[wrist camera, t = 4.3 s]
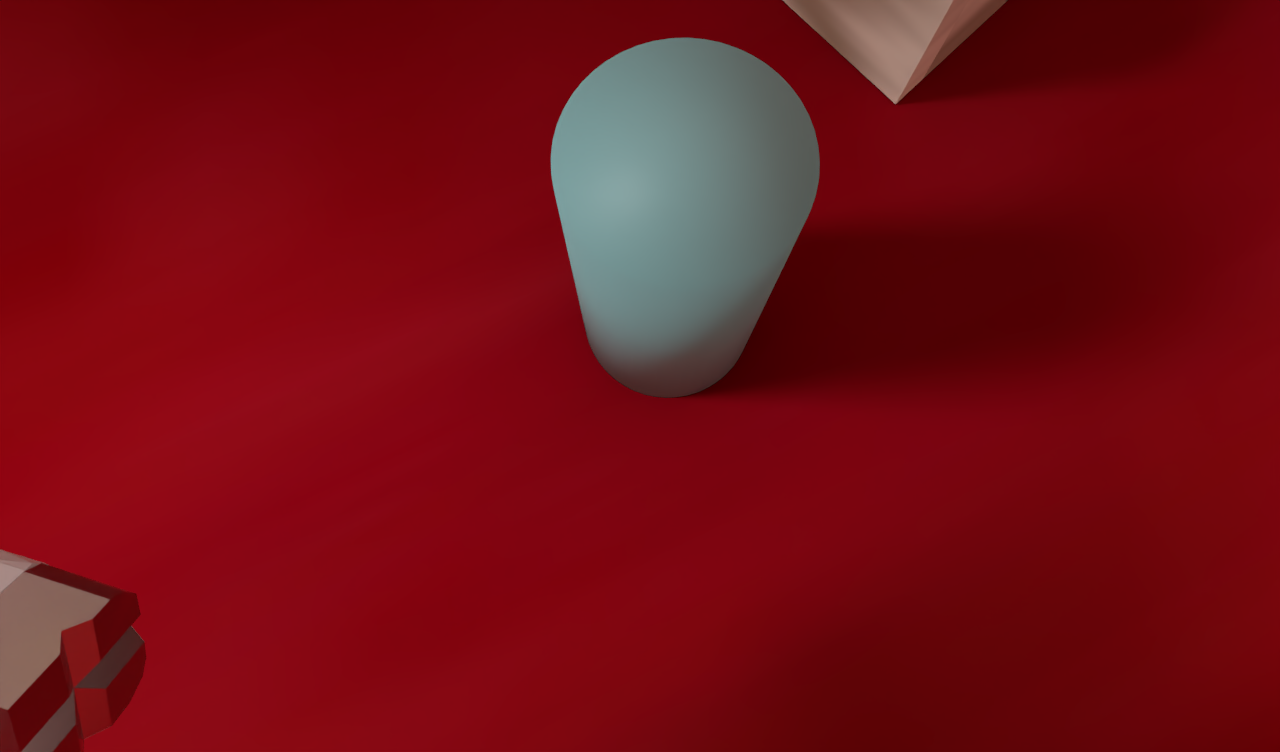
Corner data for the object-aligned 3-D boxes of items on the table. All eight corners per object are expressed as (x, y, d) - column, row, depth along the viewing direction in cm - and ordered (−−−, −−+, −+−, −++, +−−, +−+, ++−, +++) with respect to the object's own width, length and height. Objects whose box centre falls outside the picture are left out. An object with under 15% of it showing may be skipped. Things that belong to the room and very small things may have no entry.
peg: (550, 313, 23) (494, 156, 14) (669, 205, 24) (687, -12, 15) (665, 432, 22) (682, 345, 14) (784, 318, 23) (875, 164, 14)
